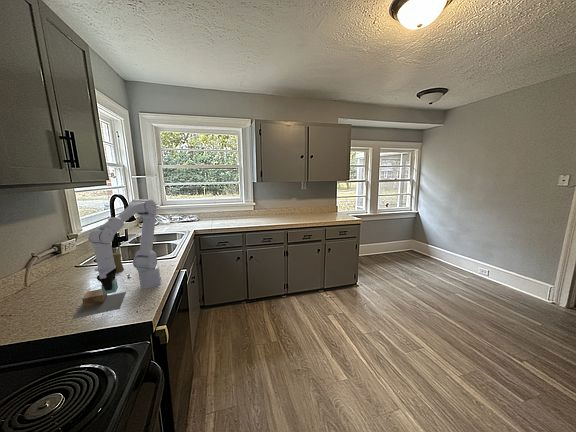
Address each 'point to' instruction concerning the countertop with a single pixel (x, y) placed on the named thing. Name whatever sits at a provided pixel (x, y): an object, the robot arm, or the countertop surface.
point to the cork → (118, 262)
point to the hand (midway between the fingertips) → (110, 287)
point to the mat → (102, 306)
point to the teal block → (114, 288)
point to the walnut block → (93, 298)
